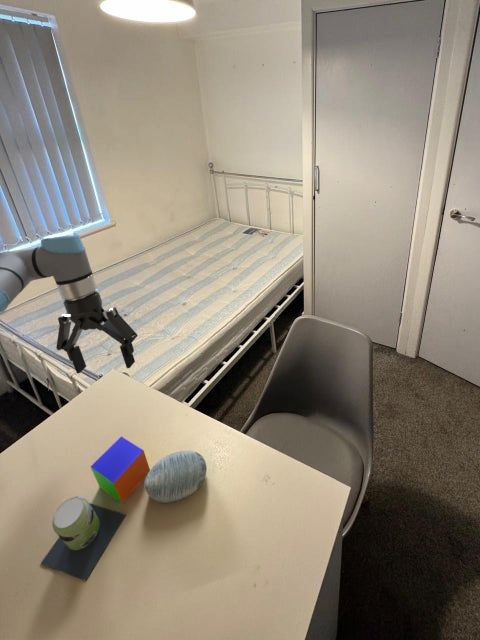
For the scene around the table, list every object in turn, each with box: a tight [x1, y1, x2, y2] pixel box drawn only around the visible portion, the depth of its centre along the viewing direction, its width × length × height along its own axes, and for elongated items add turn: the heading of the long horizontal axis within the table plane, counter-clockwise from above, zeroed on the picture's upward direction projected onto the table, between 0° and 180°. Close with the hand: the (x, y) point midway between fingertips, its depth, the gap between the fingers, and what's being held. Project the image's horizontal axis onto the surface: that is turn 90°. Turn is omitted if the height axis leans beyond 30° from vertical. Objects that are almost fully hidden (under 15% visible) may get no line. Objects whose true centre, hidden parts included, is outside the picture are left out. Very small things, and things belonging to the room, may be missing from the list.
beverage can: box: [52, 495, 100, 550], centre depth 66 cm, size 6×7×12 cm
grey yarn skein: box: [144, 450, 208, 504], centre depth 76 cm, size 14×10×10 cm
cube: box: [90, 436, 151, 504], centre depth 77 cm, size 8×8×8 cm
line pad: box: [40, 502, 127, 581], centre depth 68 cm, size 11×11×1 cm
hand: (106, 367), depth 84 cm, fingers open, 13 cm apart
